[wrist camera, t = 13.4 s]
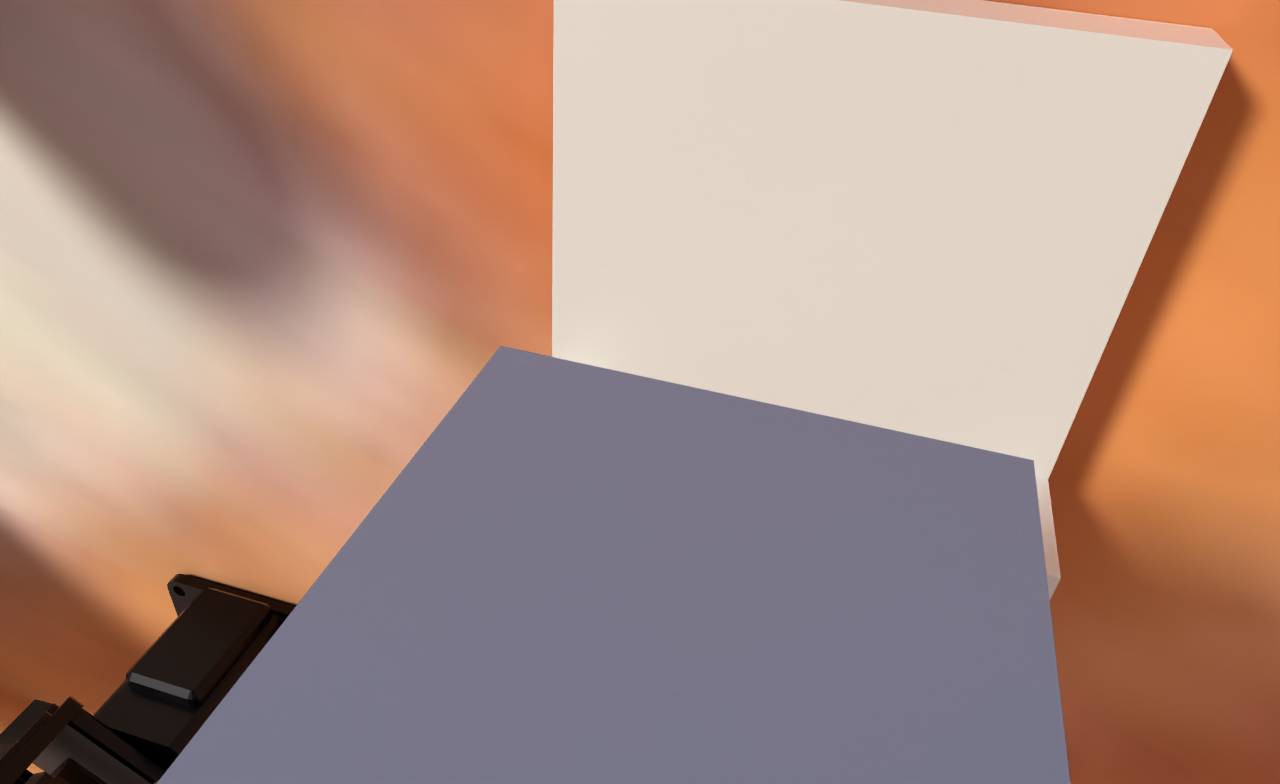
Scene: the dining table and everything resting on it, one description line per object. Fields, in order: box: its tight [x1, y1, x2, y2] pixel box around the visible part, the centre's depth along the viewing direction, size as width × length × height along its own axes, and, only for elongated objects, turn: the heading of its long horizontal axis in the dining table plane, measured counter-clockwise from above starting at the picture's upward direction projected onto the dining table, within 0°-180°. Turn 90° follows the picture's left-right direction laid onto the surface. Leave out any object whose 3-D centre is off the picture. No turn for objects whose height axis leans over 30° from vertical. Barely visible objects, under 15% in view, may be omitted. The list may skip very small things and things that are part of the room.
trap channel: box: [552, 0, 1233, 600], centre depth 22 cm, size 24×11×4 cm, turn 176°
